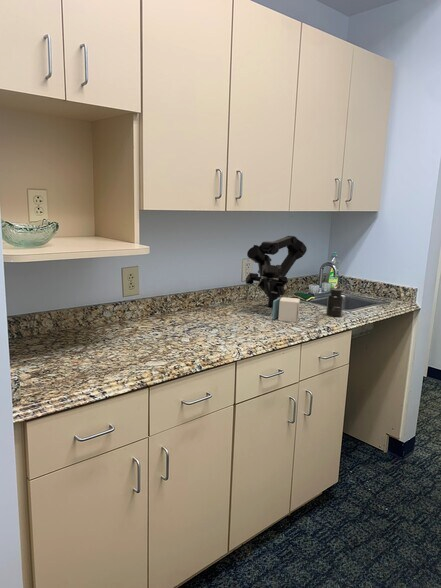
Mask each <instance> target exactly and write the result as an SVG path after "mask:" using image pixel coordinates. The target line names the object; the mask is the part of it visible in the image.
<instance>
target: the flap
mask: <svg viewBox="0 0 441 588" xmlns="http://www.w3.org/2000/svg"><path fill="white" fill-rule="evenodd" d="M281 298H282V297H280V298H279V297H278V299H276V300H274V301H273V307H272V313H271V315H272V317H271V319H272V320H275V319H277V318H279V303H280V299H281Z"/></svg>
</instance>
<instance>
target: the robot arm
mask: <svg viewBox="0 0 441 588" xmlns="http://www.w3.org/2000/svg"><path fill="white" fill-rule="evenodd" d="M283 248H287V255H286V257H284V260H282V262H281V264H276V265H274V264H271V263H272V259H271V257H270V255H272V256H274V255H276V254H277V253H279V251H280V250H281V249H283ZM246 253H247V254H246V255H247V257H248V258H249V260H251V261H253V263H256V264H257V265H258V270H257V273H256V272H249V273H248V275H247V276H246V277H245V284H246V285H253V284H254V283H255V282H258V284H257V287H259V288H260V290H262V291H263V292H264V294H265V295H266V297H267V303H266V304H265V305H266V307H268V308H273V301H274V300H276V299H278V297H279V298H281V296H284V295H285V293H286V289H285V288H284V287H285V286H286V284H287V283H288V282H289V279H288V276H286V275H288V273H289V271H290V270H291V269H292V267H293V266H294V264H295V263H296V261H297V260H299V259H301V258H303V256H304V255H305V254H306V253H307V246H306V244H304V242H303V241H301V240H299V239H298V238H297V236H295V235H287V236H286V235H285V236H284V237H282V238H279V239H276V240H272V241H268V240H267V241H262V242H261V244H260V245H258V244H253V246H252V247H251V248H249V249H248V250H247V252H246ZM254 281H255V282H254Z"/></svg>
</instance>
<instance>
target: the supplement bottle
mask: <svg viewBox="0 0 441 588" xmlns="http://www.w3.org/2000/svg"><path fill="white" fill-rule="evenodd" d="M342 292H343V290H342V289H339V288H331V289H330V294H329V295H328V296H327V301H326V303H327V304H326V313H325V314H326V316H329V317H332V318H333V317H335V318H340V317H342V314H343V305H344V296H343V295H342V294H343V293H342Z"/></svg>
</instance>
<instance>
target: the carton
mask: <svg viewBox="0 0 441 588" xmlns="http://www.w3.org/2000/svg"><path fill="white" fill-rule="evenodd" d="M280 298H281V299H280V303H279V316H278V317H277V318H278V321H280V322H291V323H292V322H293V323H298V321H299V316H300V304H301V299H300V298H296V297H295V298H294V297H283V296H282V297H280Z"/></svg>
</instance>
